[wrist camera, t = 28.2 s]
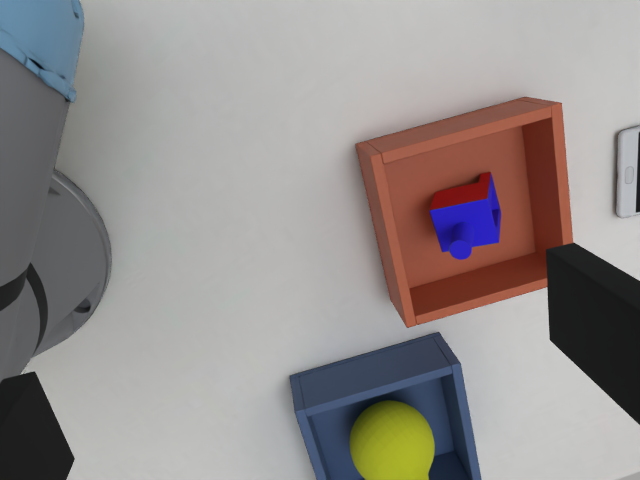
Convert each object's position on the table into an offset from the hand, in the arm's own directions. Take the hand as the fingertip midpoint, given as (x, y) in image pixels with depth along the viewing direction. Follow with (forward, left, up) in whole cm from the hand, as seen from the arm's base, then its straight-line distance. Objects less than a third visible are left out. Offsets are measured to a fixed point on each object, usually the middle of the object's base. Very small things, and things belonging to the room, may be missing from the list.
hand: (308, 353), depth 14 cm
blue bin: (+4, -26, -28) cm, 38 cm away
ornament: (+4, -26, -28) cm, 38 cm away
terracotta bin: (+14, -8, -28) cm, 32 cm away
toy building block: (+14, -8, -28) cm, 32 cm away
